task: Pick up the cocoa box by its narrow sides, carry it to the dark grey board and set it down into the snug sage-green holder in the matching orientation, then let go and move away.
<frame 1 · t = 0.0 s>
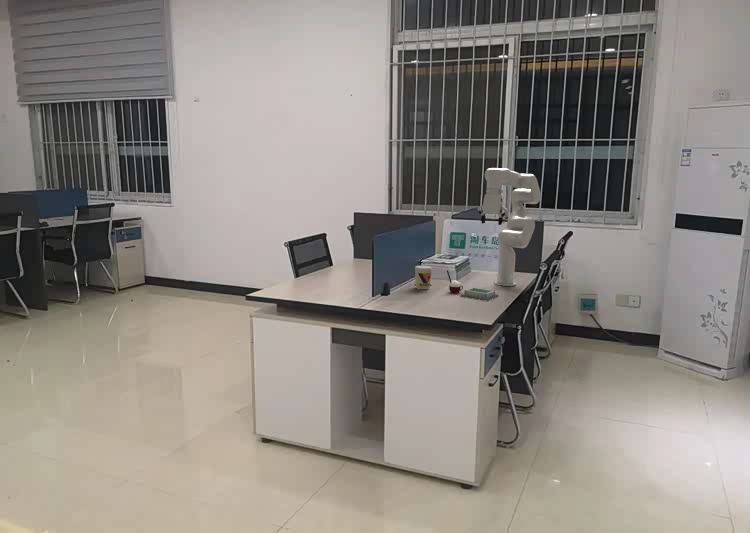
hand: (491, 224, 311), 37 cm above the table, tool pointing down, fingers open, 9 cm apart
holder board: (479, 296, 303), on the table
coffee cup: (422, 288, 320), on the table
cocoa: (454, 292, 312), on the table
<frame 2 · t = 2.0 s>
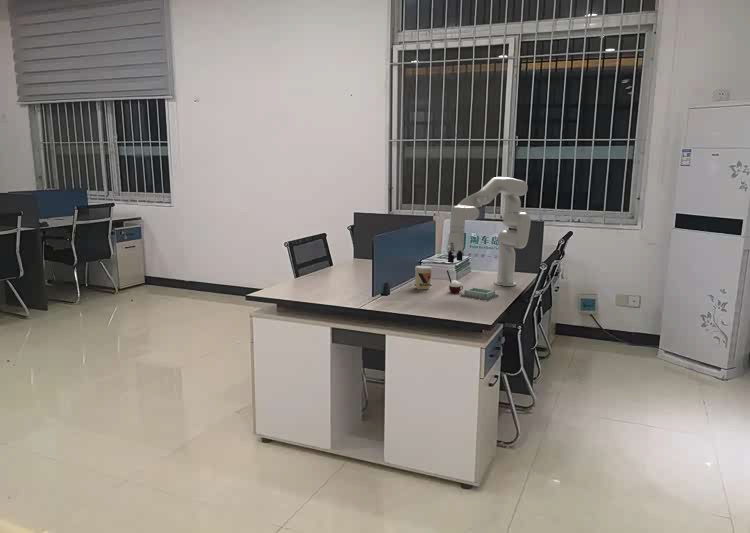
hand: (455, 261, 309), 17 cm above the table, tool pointing down, fingers open, 9 cm apart
nothing on the table moved.
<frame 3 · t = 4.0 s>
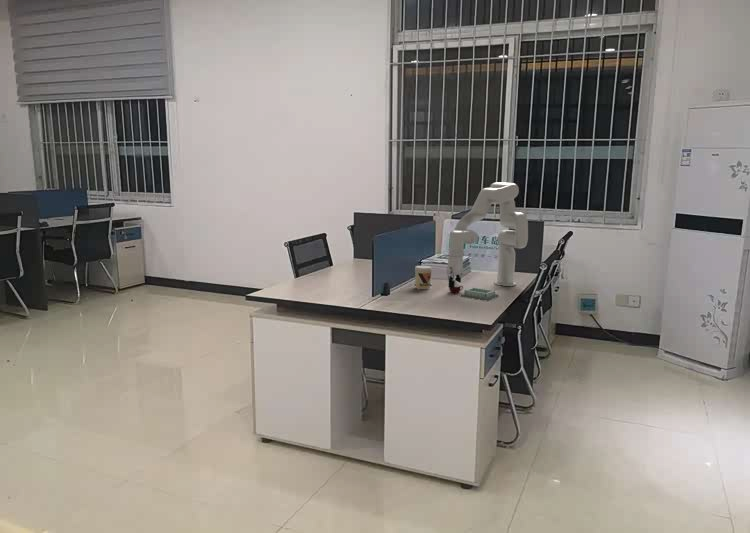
hand: (454, 286, 311), 3 cm above the table, tool pointing down, fingers closed on cocoa, 6 cm apart
cocoa: (454, 292, 312), on the table, touching gripper
everything else where it was.
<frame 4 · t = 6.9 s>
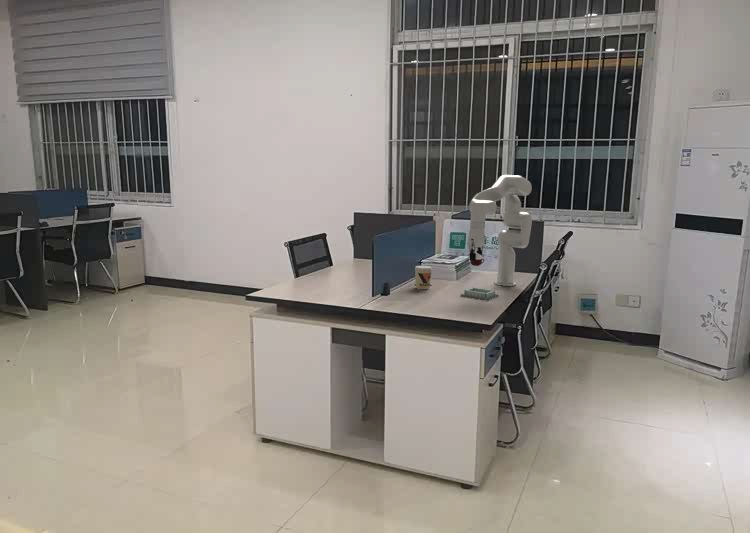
hand: (475, 259, 302), 19 cm above the table, tool pointing down, fingers closed on cocoa, 6 cm apart
cocoa: (475, 265, 303), point 16 cm above the table, touching gripper
everything else where it was.
when the fingers open (5 cm above the table, at t = 10.0 s): cocoa stays where it is, resting on holder board.
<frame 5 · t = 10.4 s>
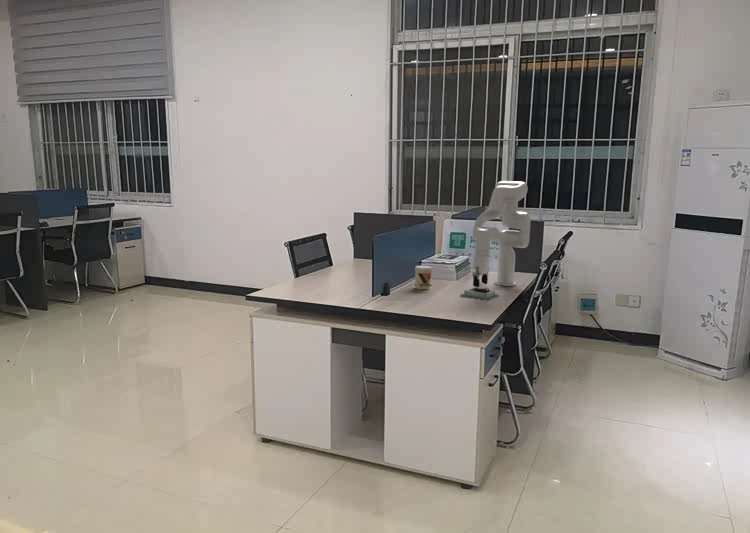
hand: (480, 285, 302), 6 cm above the table, tool pointing down, fingers open, 9 cm apart
cocoa: (479, 294, 303), point 1 cm above the table, touching holder board
everything else where it was.
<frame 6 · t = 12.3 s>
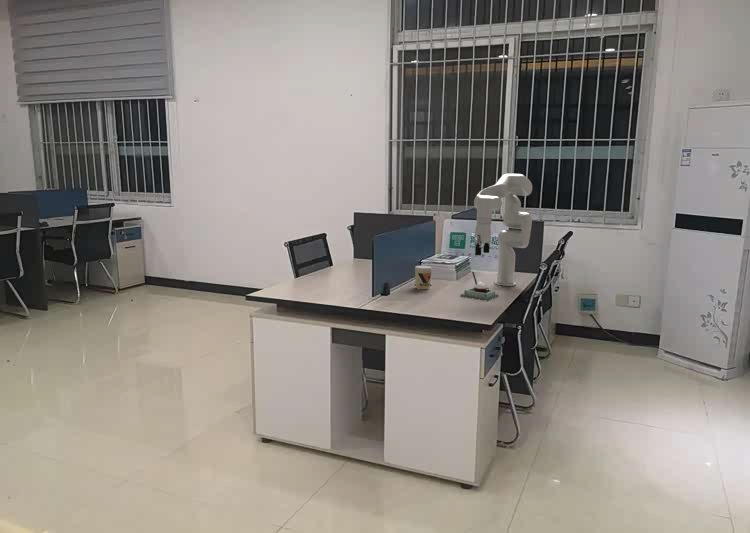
hand: (482, 253, 300), 22 cm above the table, tool pointing down, fingers open, 9 cm apart
nothing on the table moved.
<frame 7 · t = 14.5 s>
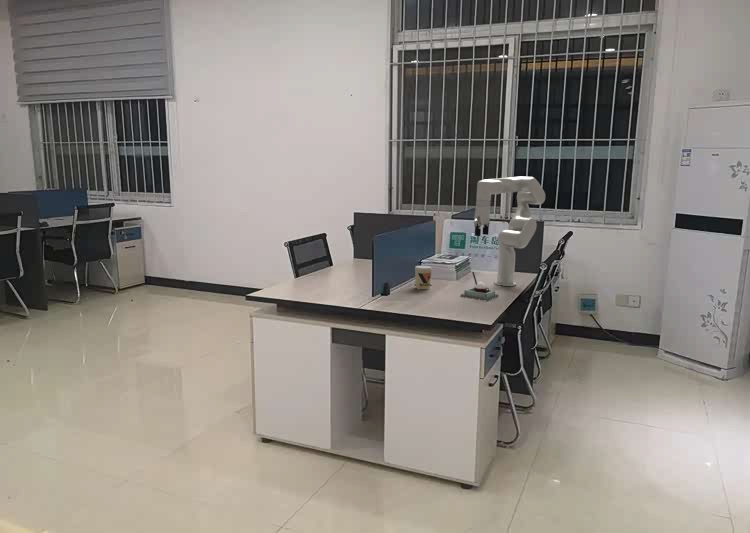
hand: (481, 235, 315), 30 cm above the table, tool pointing down, fingers open, 9 cm apart
nothing on the table moved.
at the end: cocoa 0.1 cm off-centre on the holder board, point 1.0 cm above the holder board's base; cocoa tilted 0°; the gripper is holding nothing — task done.
